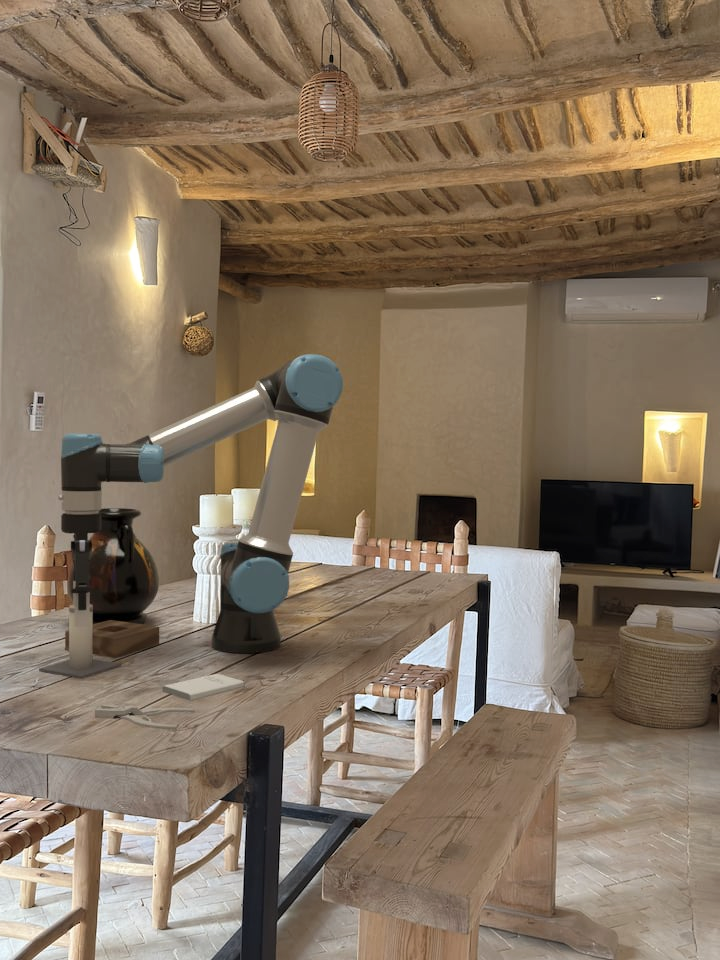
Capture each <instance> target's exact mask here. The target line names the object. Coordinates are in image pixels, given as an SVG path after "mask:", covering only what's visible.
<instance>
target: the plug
mask: <svg viewBox="0 0 720 960" xmlns="http://www.w3.org/2000/svg"><path fill="white" fill-rule="evenodd" d="M74 624H75V604H73V603H72V604H70V605H69V606H68V629H69V650H68V660H69V667H70V668H74V669H83V668H89V667H91V666H92V659H93V654H92V625H93V605H92V604H90V612H89V627H74Z"/></svg>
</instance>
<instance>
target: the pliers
mask: <svg viewBox="0 0 720 960" xmlns="http://www.w3.org/2000/svg"><path fill="white" fill-rule="evenodd" d="M100 707H101V708H95V709H94V718H95V719H96V718H99V719H100V718H101V719H114V717H117V718H120V719H123V720H126V721H128V722H131V723H133V724H135V725H138V726H141V727H148V728H151V729H152V728H153V729H163V730H165V729H168V730H169V729H171V730H173V729H175V730H176V729H177V727H178V726H177V725H176V724H175V725H173V724H167V723H166V724H165V723H157V722H153V721H152V719H151V718H150V717H153V716H158V715H162V714H164V713H171V712H172V713H174V712H176V713H178V712H180V713H185V712H186V713H194V712H195V711H196V709H194V708H189V707H154V708H153V707H152V708H146V709H140V708H139V707H137V706H135V705H125V706H121V705H116V704H101V705H100ZM130 713H131V714H132V715H130ZM134 715H135V716H134ZM139 716H142V718H140V717H139Z"/></svg>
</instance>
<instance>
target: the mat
mask: <svg viewBox="0 0 720 960" xmlns="http://www.w3.org/2000/svg"><path fill="white" fill-rule="evenodd" d="M122 666H123V665H122V663H121V662H115V661H109V660H104V659H103V660H102V659H96V658H92V666H91V667H89V668H83V669H74V668H70V667H69V659H67V660H63V661H60V662H57V663H54V664H50V665H46V666H42V667H40V668H38V669H39V671H38V672H44V673H48V674H53V673H54V674H55V675H59V674H60V675H61V676H64V675H66V677H70V676H72V677H71V678H76V677H77V679H81V678H82V679H85V678H89V677H91V676H95V675H97V674H101V673H103V672H108V671H110V670H113V669H117V668H119V667H120V668H121V667H122ZM60 675H59V676H60ZM88 676H89V677H88ZM84 677H85V678H84Z"/></svg>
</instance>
